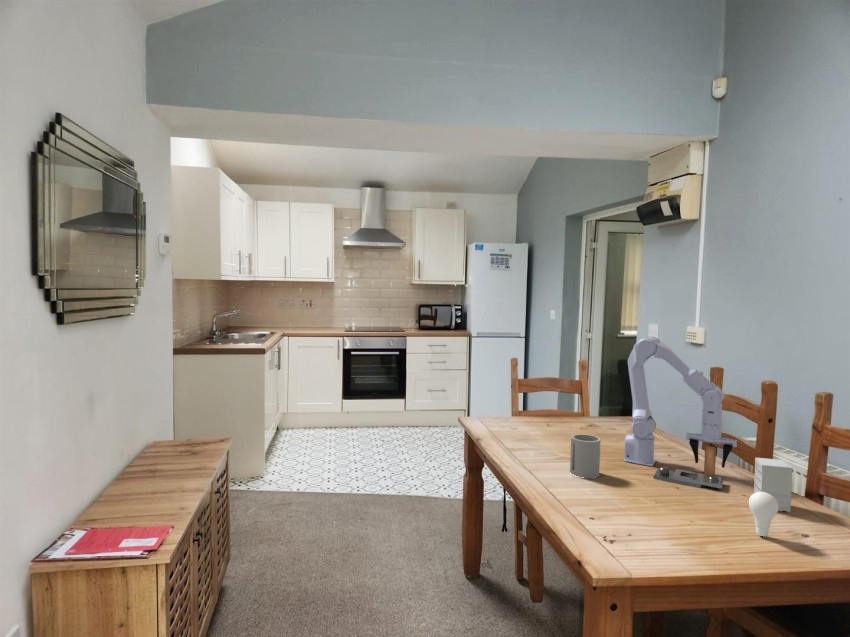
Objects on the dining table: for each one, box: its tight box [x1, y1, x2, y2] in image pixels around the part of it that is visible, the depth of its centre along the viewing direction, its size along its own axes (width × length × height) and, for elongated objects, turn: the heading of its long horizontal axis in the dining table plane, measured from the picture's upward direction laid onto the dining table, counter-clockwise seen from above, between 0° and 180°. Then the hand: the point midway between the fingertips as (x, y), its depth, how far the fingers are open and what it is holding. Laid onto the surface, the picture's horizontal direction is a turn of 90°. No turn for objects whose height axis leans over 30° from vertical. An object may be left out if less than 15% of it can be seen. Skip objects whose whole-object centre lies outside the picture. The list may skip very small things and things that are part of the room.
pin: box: [703, 445, 717, 476], centre depth 172 cm, size 3×3×9 cm
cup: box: [569, 433, 601, 479], centre depth 171 cm, size 9×9×12 cm
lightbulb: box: [748, 492, 779, 538], centre depth 128 cm, size 6×6×11 cm
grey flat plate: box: [653, 466, 724, 489], centre depth 166 cm, size 19×8×3 cm, turn 57°
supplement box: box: [753, 457, 793, 513], centre depth 147 cm, size 7×7×13 cm
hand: (709, 464), depth 172 cm, fingers open, 7 cm apart
